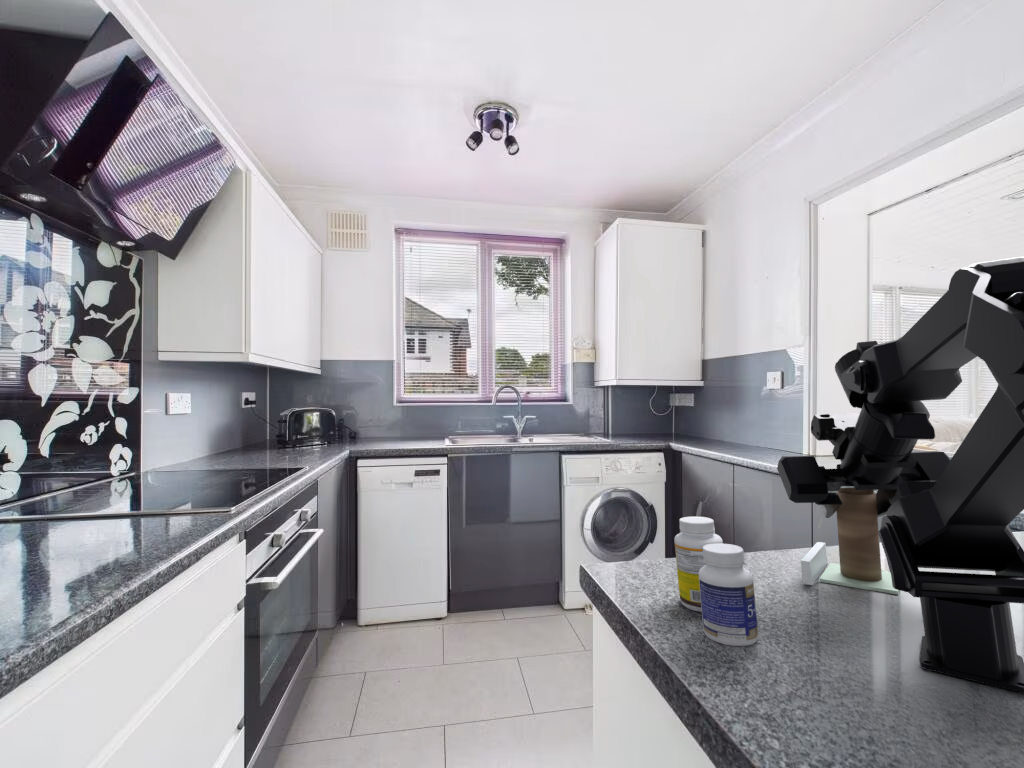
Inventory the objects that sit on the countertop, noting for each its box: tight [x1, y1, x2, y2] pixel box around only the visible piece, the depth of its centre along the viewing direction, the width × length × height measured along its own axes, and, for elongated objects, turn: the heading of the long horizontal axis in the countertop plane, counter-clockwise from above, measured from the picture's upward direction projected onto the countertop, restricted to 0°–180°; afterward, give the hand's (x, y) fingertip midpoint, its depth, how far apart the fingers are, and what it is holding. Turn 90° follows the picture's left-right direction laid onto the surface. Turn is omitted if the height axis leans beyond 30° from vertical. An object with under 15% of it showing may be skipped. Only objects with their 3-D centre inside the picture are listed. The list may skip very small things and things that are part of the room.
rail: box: [800, 541, 829, 586], centre depth 64 cm, size 11×1×3 cm, turn 137°
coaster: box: [819, 562, 900, 595], centre depth 61 cm, size 8×8×1 cm
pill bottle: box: [699, 543, 760, 647], centre depth 48 cm, size 5×5×9 cm
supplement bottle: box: [673, 516, 724, 613], centre depth 56 cm, size 6×6×10 cm
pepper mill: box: [835, 488, 882, 581], centre depth 61 cm, size 4×4×13 cm
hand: (848, 514), depth 63 cm, fingers open, 5 cm apart
